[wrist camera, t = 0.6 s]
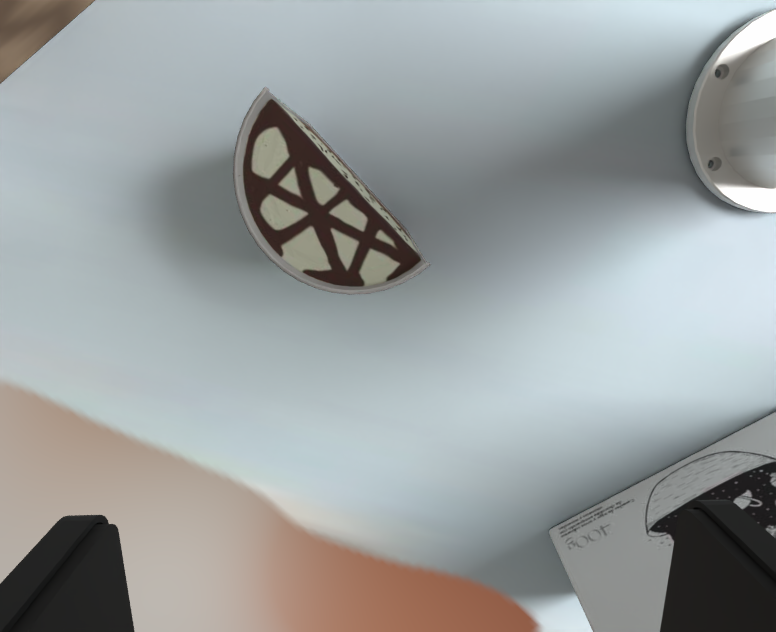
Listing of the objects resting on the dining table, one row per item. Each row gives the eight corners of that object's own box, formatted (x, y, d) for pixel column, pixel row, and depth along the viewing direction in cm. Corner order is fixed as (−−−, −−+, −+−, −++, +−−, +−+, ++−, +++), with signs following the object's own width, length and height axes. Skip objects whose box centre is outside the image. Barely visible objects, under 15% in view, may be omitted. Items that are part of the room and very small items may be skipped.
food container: (230, 174, 35) (170, 174, 25) (294, 107, 33) (257, 79, 24) (358, 303, 37) (348, 349, 27) (421, 245, 36) (434, 271, 26)
